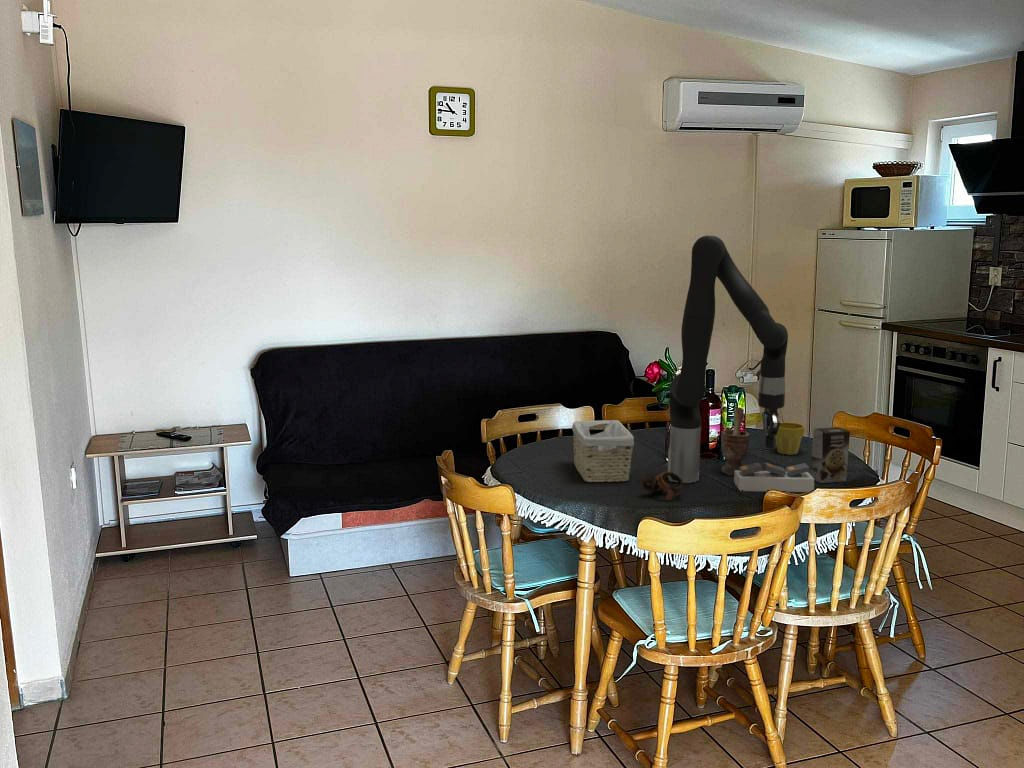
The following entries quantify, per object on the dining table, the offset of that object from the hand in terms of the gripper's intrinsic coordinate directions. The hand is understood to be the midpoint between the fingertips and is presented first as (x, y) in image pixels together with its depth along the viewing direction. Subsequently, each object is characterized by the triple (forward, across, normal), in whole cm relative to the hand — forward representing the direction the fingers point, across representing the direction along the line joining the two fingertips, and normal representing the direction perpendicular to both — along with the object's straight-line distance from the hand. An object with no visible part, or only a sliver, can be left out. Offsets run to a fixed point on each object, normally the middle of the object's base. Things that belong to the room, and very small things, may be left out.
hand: (769, 447), depth 276 cm
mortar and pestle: (+13, -17, -7) cm, 22 cm away
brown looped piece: (+12, +10, -33) cm, 37 cm away
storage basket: (+12, -13, -50) cm, 53 cm away
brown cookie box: (+13, -9, +21) cm, 26 cm away
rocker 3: (+7, 0, +9) cm, 11 cm away
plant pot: (+13, -40, +16) cm, 45 cm away
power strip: (+13, 0, +2) cm, 13 cm away
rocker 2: (+7, 0, +2) cm, 7 cm away
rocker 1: (+7, 0, -5) cm, 9 cm away
